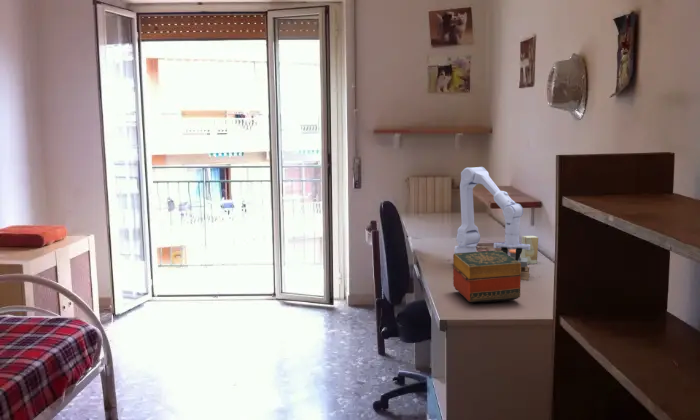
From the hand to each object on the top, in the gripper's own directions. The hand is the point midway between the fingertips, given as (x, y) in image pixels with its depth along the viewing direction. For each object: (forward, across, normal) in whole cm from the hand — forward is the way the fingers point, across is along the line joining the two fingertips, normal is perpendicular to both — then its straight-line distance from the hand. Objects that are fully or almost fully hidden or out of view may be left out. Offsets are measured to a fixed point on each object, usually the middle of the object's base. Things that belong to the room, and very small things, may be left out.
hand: (511, 265), depth 252 cm
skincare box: (+4, +7, +28) cm, 29 cm away
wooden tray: (+4, -3, 0) cm, 5 cm away
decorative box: (+4, -7, -36) cm, 37 cm away
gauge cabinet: (+4, +1, +10) cm, 11 cm away
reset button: (0, +1, +10) cm, 10 cm away
